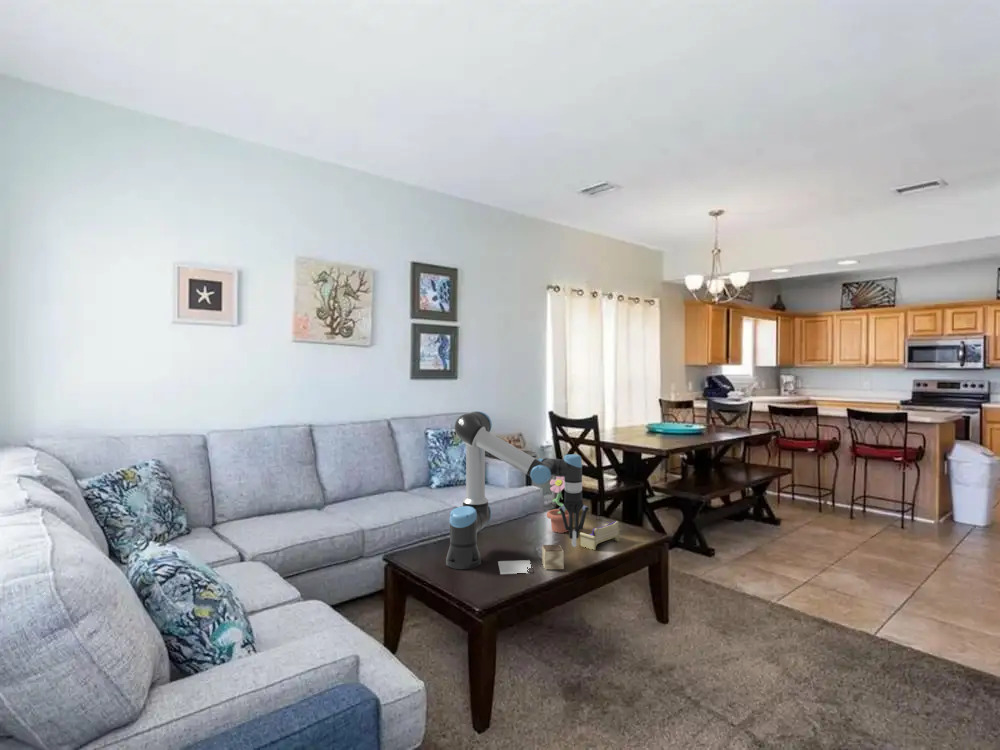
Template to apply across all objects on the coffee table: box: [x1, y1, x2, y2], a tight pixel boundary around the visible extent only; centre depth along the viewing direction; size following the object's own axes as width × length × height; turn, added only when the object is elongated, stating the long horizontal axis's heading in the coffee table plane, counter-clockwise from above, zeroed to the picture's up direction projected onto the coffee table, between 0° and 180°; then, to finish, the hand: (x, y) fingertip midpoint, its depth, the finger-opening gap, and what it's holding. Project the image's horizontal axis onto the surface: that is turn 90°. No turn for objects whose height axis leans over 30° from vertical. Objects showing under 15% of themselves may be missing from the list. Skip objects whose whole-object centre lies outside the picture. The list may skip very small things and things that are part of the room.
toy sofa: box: [579, 520, 621, 551], centre depth 268 cm, size 21×9×10 cm, turn 133°
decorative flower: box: [546, 476, 575, 534], centre depth 288 cm, size 15×14×30 cm
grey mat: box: [497, 559, 532, 575], centre depth 238 cm, size 14×14×1 cm
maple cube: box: [541, 544, 565, 570], centre depth 240 cm, size 8×8×8 cm
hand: (573, 545), depth 240 cm, fingers closed
